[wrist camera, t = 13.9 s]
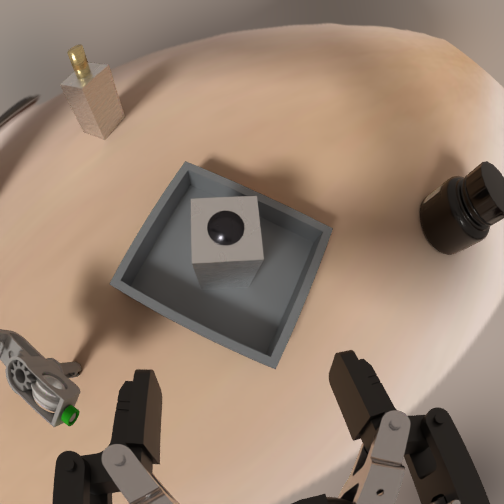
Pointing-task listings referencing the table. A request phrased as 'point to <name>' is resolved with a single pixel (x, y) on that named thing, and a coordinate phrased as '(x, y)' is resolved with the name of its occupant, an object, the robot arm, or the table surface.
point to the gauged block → (92, 95)
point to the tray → (229, 299)
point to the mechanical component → (40, 379)
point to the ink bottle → (463, 209)
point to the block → (225, 241)
